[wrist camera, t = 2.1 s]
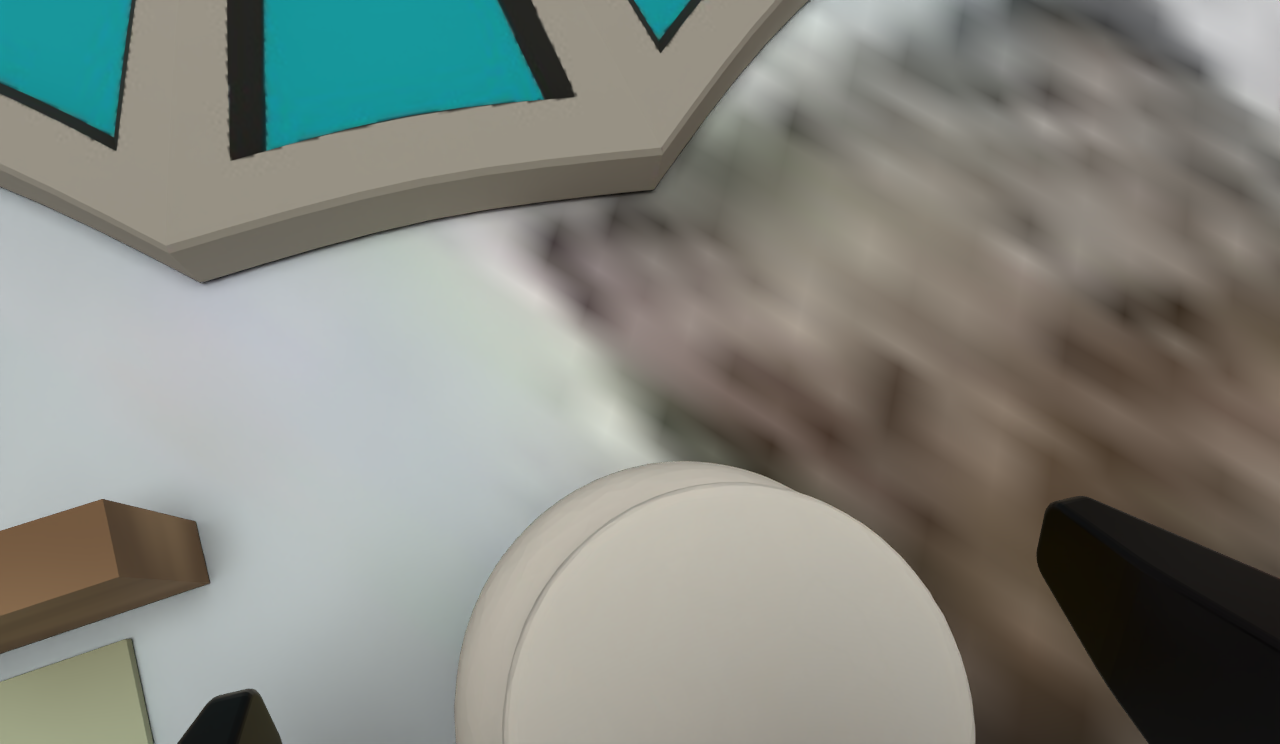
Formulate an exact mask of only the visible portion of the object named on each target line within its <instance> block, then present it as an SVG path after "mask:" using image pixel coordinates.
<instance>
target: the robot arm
mask: <svg viewBox="0 0 1280 744" xmlns="http://www.w3.org/2000/svg"><path fill="white" fill-rule="evenodd" d="M1037 563H1038V567H1039V570H1040V572H1041V574H1042V576H1043V578H1044V580H1045V581H1046V583H1047V585H1048V586H1049V588H1050V590H1051V592H1052V593H1053V595H1054V597H1055V598H1056V600H1057V602H1058V603H1059V605H1060V607H1061V609H1062V610H1063V612H1064V614H1065V615H1066V617H1067V619H1068V621H1069V622H1070V624H1071V626H1072V627H1073V629H1074V631H1075V633H1076V634H1077V636H1078V638H1079V639H1080V641H1081V643H1082V645H1083V646H1084V648H1085V650H1086V651H1087V653H1088V655H1089V656H1090V658H1091V660H1092V662H1093V663H1094V665H1095V667H1096V668H1097V670H1098V672H1099V673H1100V675H1101V676H1102V678H1103V680H1104V681H1105V683H1106V684H1107V686H1108V687H1109V689H1110V690H1111V692H1112V693H1113V695H1114V696H1115V698H1116V699H1117V700H1118V702H1119V703H1120V705H1121V706H1122V708H1123V709H1124V710H1125V712H1126V713H1127V714H1128V716H1129V717H1130V719H1131V720H1132V721H1133V723H1134V724H1135V725H1136V727H1137V728H1138V730H1139V731H1140V732H1141V734H1142V735H1143V736H1144V738H1145V739H1146V741H1147V742H1148V743H1149V744H1280V579H1279V578H1277V577H1275V576H1272V575H1270V574H1268V573H1265V572H1263V571H1261V570H1258V569H1256V568H1254V567H1251V566H1249V565H1246V564H1244V563H1242V562H1239V561H1237V560H1235V559H1232V558H1230V557H1228V556H1225V555H1223V554H1221V553H1218V552H1216V551H1214V550H1211V549H1209V548H1207V547H1204V546H1202V545H1200V544H1197V543H1195V542H1192V541H1190V540H1188V539H1185V538H1183V537H1181V536H1178V535H1176V534H1174V533H1171V532H1169V531H1167V530H1164V529H1162V528H1160V527H1157V526H1155V525H1153V524H1150V523H1148V522H1145V521H1143V520H1141V519H1138V518H1136V517H1134V516H1131V515H1129V514H1127V513H1124V512H1122V511H1120V510H1117V509H1115V508H1113V507H1110V506H1108V505H1106V504H1103V503H1101V502H1099V501H1096V500H1094V499H1091V498H1089V497H1085V496H1076V497H1072V498H1067V499H1063V500H1059V501H1054V502H1052V503H1050V505H1049V506H1048V507H1047V508H1046V511H1045V514H1044V519H1043V524H1042V529H1041V533H1040V538H1039V543H1038V547H1037ZM177 744H282V741H281V738H280V735H279V733H278V731H277V729H276V727H275V725H274V723H273V720H272V718H271V716H270V714H269V712H268V710H267V708H266V706H265V704H264V701H263V699H262V697H261V696H260V694H259V693H258V692H257V691H256V690H254V689H245V690H240V691H236V692H232V693H227V694H223V695H219V696H216V697H214V698H213V699H212V700H211V701H209V702H208V703H207V705H206V706H205V707H204V708H203V710H202V711H201V712H200V714H199V715H198V717H197V718H196V719H195V721H194V722H193V723H192V725H191V726H190V727H189V729H188V730H187V731H186V733H185V734H184V735H183V737H182V738H181V739H180V741H179V742H178V743H177Z"/></svg>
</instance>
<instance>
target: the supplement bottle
mask: <svg viewBox="0 0 1280 744" xmlns="http://www.w3.org/2000/svg"><path fill="white" fill-rule="evenodd" d="M454 714H455V735H456V744H975V722H974V713H973V704H972V697H971V692H970V688H969V683H968V679H967V675H966V672H965V668H964V665H963V661H962V658H961V655H960V652H959V650H958V648H957V645H956V642H955V640H954V637H953V635H952V632H951V630H950V628H949V626H948V623H947V621H946V619H945V617H944V615H943V613H942V612H941V610H940V609H939V607H938V605H937V604H936V602H935V601H934V599H933V597H932V595H931V593H930V592H929V590H928V589H927V588H926V586H925V585H924V584H923V582H922V581H921V580H920V578H919V577H918V576H917V575H916V573H915V572H914V571H913V570H912V568H911V567H910V566H909V565H908V564H907V563H906V561H905V560H904V559H903V558H902V557H901V556H900V555H899V554H898V553H897V552H896V551H895V550H894V549H893V548H892V547H891V546H890V545H889V544H887V543H886V542H885V541H884V540H883V539H882V538H881V537H880V536H878V535H877V534H876V533H875V532H873V531H872V530H871V529H869V528H868V527H867V526H865V525H864V524H863V523H861V522H859V521H858V520H856V519H854V518H853V517H851V516H849V515H848V514H846V513H844V512H842V511H841V510H839V509H837V508H835V507H833V506H831V505H829V504H827V503H825V502H823V501H820V500H818V499H816V498H813V497H811V496H808V495H805V494H801V493H798V492H796V491H794V490H792V489H790V488H788V487H787V486H785V485H783V484H781V483H779V482H776V481H774V480H772V479H770V478H767V477H765V476H762V475H760V474H757V473H754V472H750V471H747V470H744V469H740V468H736V467H732V466H727V465H721V464H714V463H706V462H693V461H676V462H663V463H653V464H646V465H642V466H638V467H633V468H629V469H625V470H622V471H618V472H615V473H613V474H610V475H608V476H605V477H602V478H600V479H597V480H595V481H593V482H591V483H589V484H587V485H585V486H583V487H581V488H579V489H577V490H575V491H574V492H572V493H571V494H569V495H567V496H566V497H564V498H563V499H561V500H559V501H558V502H557V503H556V504H554V505H553V506H552V507H550V508H549V509H548V510H546V511H545V512H544V513H543V514H541V515H540V516H539V517H538V518H537V519H536V520H535V521H534V522H533V523H532V524H531V525H530V526H529V527H528V528H526V529H525V531H524V532H523V533H522V534H521V535H520V536H519V537H518V538H517V539H516V540H515V541H514V542H513V544H512V545H511V546H510V548H509V549H508V550H507V551H506V553H505V554H504V555H503V556H502V558H501V559H500V561H499V562H498V564H497V565H496V567H495V568H494V570H493V571H492V573H491V575H490V577H489V578H488V580H487V582H486V584H485V585H484V587H483V589H482V592H481V594H480V596H479V598H478V600H477V602H476V605H475V607H474V609H473V611H472V614H471V617H470V620H469V623H468V626H467V629H466V632H465V636H464V640H463V644H462V649H461V653H460V659H459V665H458V672H457V681H456V692H455V704H454Z"/></svg>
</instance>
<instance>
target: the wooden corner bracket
mask: <svg viewBox="0 0 1280 744" xmlns="http://www.w3.org/2000/svg"><path fill="white" fill-rule="evenodd" d="M209 583H210V581H209V577H208V573H207V569H206V564H205V560H204V556H203V552H202V547H201V543H200V539H199V535H198V530H197V526H196V522H195V521H191V520H187V519H183V518H179V517H175V516H171V515H167V514H163V513H158V512H154V511H150V510H146V509H142V508H138V507H134V506H130V505H125V504H121V503H117V502H113V501H109V500H105V499H101V500H98V501H95V502H91V503H88V504H85V505H82V506H79V507H75V508H72V509H69V510H66V511H63V512H59V513H56V514H53V515H50V516H47V517H43V518H40V519H37V520H34V521H31V522H27V523H24V524H21V525H18V526H15V527H11V528H8V529H5V530H2V531H0V654H1V653H4V652H7V651H10V650H13V649H16V648H19V647H22V646H25V645H28V644H31V643H34V642H37V641H40V640H43V639H46V638H49V637H52V636H55V635H58V634H61V633H63V632H66V631H69V630H72V629H75V628H78V627H81V626H84V625H87V624H90V623H93V622H96V621H99V620H102V619H105V618H108V617H111V616H114V615H117V614H120V613H123V612H126V611H129V610H132V609H135V608H138V607H141V606H144V605H147V604H150V603H153V602H156V601H159V600H162V599H165V598H168V597H171V596H174V595H177V594H180V593H182V592H185V591H188V590H191V589H194V588H197V587H200V586H203V585H206V584H209ZM0 744H153V739H152V734H151V730H150V725H149V720H148V715H147V711H146V706H145V701H144V697H143V692H142V687H141V682H140V678H139V673H138V668H137V664H136V659H135V654H134V649H133V645H132V640H131V639H125V640H122V641H119V642H116V643H113V644H110V645H107V646H104V647H101V648H98V649H95V650H92V651H90V652H87V653H84V654H81V655H78V656H75V657H72V658H69V659H66V660H63V661H60V662H57V663H54V664H51V665H49V666H46V667H43V668H40V669H37V670H34V671H31V672H28V673H25V674H22V675H19V676H16V677H13V678H10V679H8V680H5V681H2V682H0Z"/></svg>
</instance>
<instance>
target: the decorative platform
mask: <svg viewBox="0 0 1280 744" xmlns="http://www.w3.org/2000/svg"><path fill="white" fill-rule="evenodd" d="M807 1H809V0H0V187H3V188H5V189H7V190H10V191H12V192H14V193H17V194H19V195H22V196H24V197H26V198H29V199H31V200H33V201H36V202H38V203H41V204H43V205H45V206H47V207H49V208H52V209H54V210H56V211H58V212H60V213H62V214H64V215H67V216H69V217H71V218H73V219H75V220H77V221H79V222H81V223H84V224H86V225H88V226H90V227H92V228H94V229H96V230H98V231H100V232H102V233H104V234H106V235H108V236H110V237H112V238H114V239H116V240H118V241H120V242H122V243H124V244H126V245H128V246H130V247H132V248H134V249H136V250H138V251H140V252H142V253H144V254H146V255H148V256H150V257H152V258H154V259H156V260H158V261H160V262H162V263H164V264H166V265H168V266H169V267H171V268H173V269H175V270H177V271H179V272H181V273H183V274H185V275H187V276H189V277H191V278H193V279H195V280H196V281H198V282H200V283H201V282H205V281H209V280H212V279H215V278H219V277H222V276H225V275H229V274H232V273H235V272H238V271H242V270H245V269H248V268H252V267H255V266H258V265H261V264H265V263H268V262H272V261H275V260H279V259H282V258H285V257H289V256H292V255H296V254H299V253H303V252H306V251H309V250H313V249H316V248H320V247H323V246H327V245H331V244H335V243H338V242H342V241H346V240H350V239H353V238H357V237H361V236H365V235H368V234H372V233H376V232H380V231H384V230H389V229H393V228H397V227H402V226H406V225H411V224H415V223H419V222H424V221H428V220H433V219H438V218H443V217H449V216H455V215H460V214H466V213H471V212H477V211H483V210H488V209H495V208H502V207H509V206H516V205H524V204H531V203H538V202H545V201H554V200H562V199H571V198H579V197H588V196H596V195H606V194H615V193H625V192H635V191H644V190H652V189H655V187H656V186H657V184H658V183H659V182H660V180H661V179H662V177H663V176H664V175H665V173H666V172H667V170H668V169H669V168H670V166H671V165H672V163H673V162H674V161H675V159H676V158H677V156H678V155H679V154H680V152H681V151H682V149H683V148H684V147H685V145H686V144H687V143H688V141H689V140H690V139H691V137H692V136H693V134H694V133H695V132H696V130H697V129H698V128H699V126H700V125H701V124H702V122H703V121H704V120H705V118H706V117H707V116H708V114H709V113H710V111H711V110H712V109H713V108H714V106H715V105H716V104H717V102H718V101H719V100H720V99H721V97H722V96H723V95H724V94H725V92H726V91H727V90H728V88H729V87H730V86H731V85H732V83H733V82H734V81H735V80H736V78H737V77H738V76H739V75H740V73H741V72H742V71H743V70H744V69H745V68H746V66H747V65H748V64H749V63H750V62H751V61H752V59H753V58H754V57H755V56H756V55H757V54H758V52H759V51H760V50H761V49H762V48H763V47H764V45H765V44H766V43H767V42H768V41H769V40H770V39H771V38H772V37H773V36H774V35H775V34H776V33H777V32H778V31H779V30H780V28H781V27H782V26H783V25H784V24H785V23H786V22H787V21H788V20H789V19H790V18H791V17H792V16H793V15H794V14H795V13H796V12H797V11H798V10H799V9H800V8H801V7H802V6H803V5H804V4H805V3H806V2H807Z"/></svg>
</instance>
